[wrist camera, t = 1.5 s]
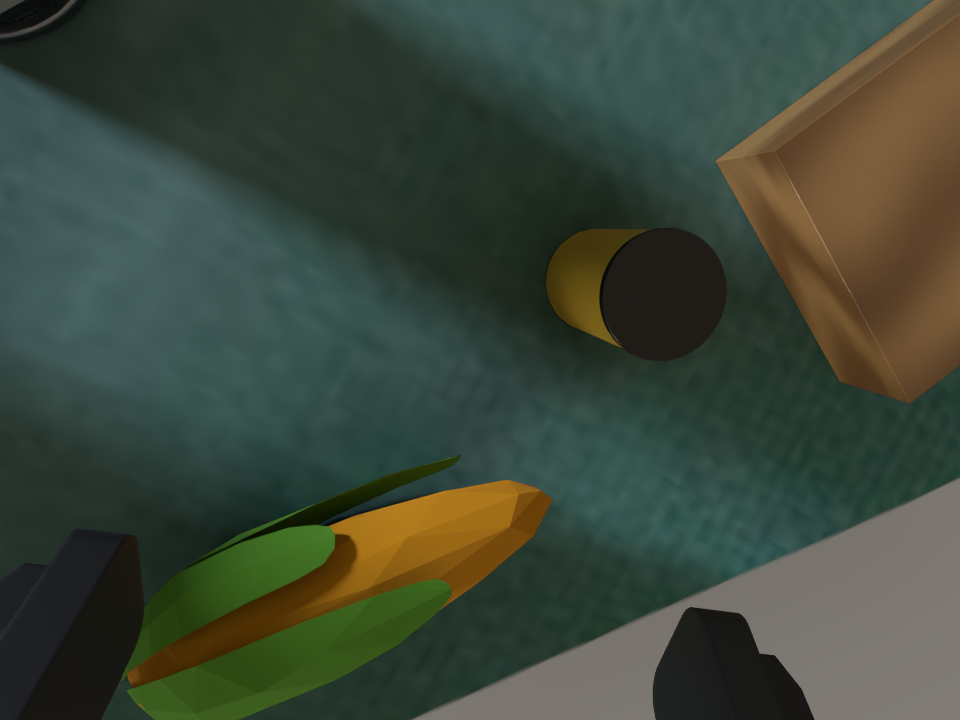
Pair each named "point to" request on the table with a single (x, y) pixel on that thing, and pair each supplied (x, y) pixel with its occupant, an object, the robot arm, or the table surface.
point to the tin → (639, 289)
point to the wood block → (869, 206)
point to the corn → (319, 594)
